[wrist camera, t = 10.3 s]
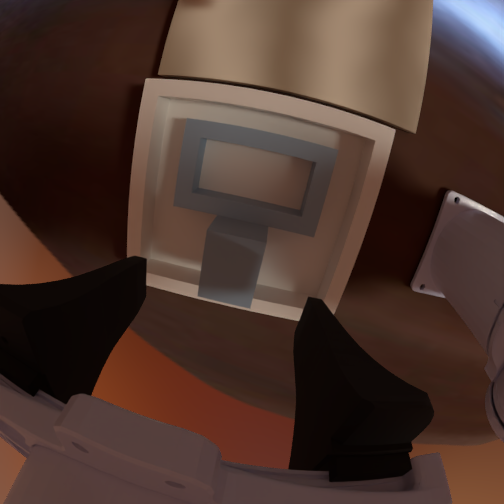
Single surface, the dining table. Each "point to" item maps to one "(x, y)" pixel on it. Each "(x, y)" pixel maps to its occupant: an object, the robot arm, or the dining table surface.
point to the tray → (253, 190)
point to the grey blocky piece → (245, 208)
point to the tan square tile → (310, 51)
